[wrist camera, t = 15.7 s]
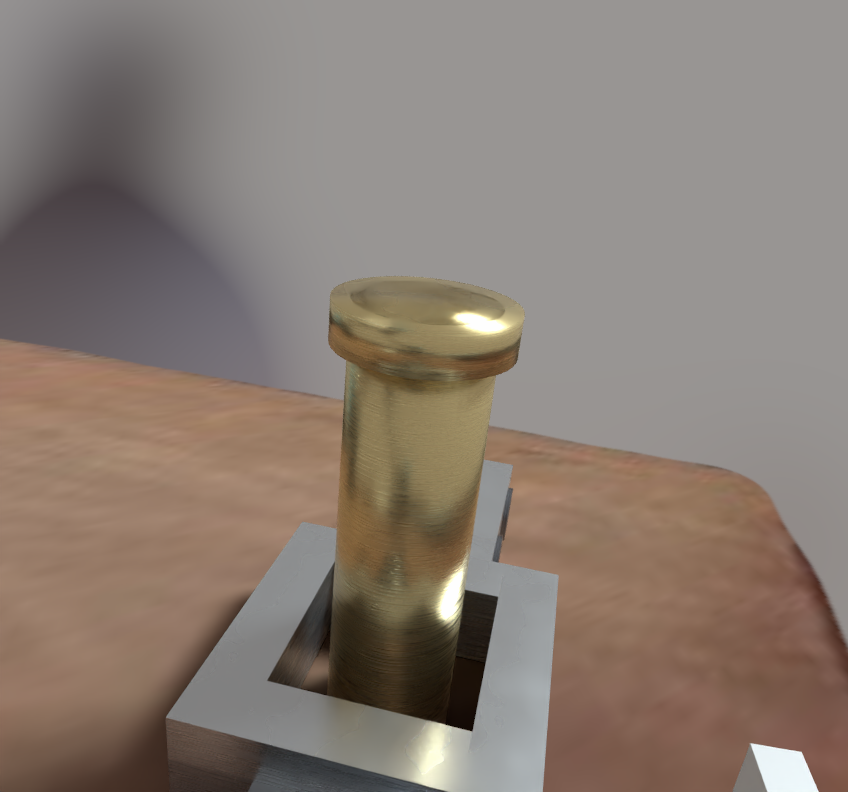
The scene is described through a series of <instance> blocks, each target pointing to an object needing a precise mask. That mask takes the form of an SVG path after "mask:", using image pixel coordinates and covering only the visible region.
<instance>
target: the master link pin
mask: <svg viewBox="0 0 848 792" xmlns="http://www.w3.org/2000/svg"><path fill="white" fill-rule="evenodd" d="M524 316H525V312H524V309H523V308H522V307H521V306H520V304H518V303H517V302H516V301H514V300H512V299H511V298H509V297H507V296H504V295H502V294H500V293H497V292H494V291H492V290H489V289H485V288H482V287H478V286H474V285H470V284H465V283H460V282H455V281H449V280H442V279H434V278H424V277H408V276H386V277H370V278H363V279H357V280H352V281H349V282H345V283H343V284H340V285H338V286H336V287H335V288H334V289H333V290H332V291H331V294H330V311H329V332H328V333H329V334H328V342H329V345H330V347H331V349H333V351H334V352H335V353H336V354H338V355H339V356H340V357H342V358H344V359H345V360H346V377H345V393H344V394H345V395H344V410H343V427H342V445H341V462H340V479H339V497H338V514H337V532H336V549H335V567H334V584H333V601H332V619H331V636H330V654H329V671H328V688H327V696H330V697H334V698H338V699H342V700H346V701H350V702H355V703H359V704H363V705H367V706H371V707H375V708H379V709H383V710H387V711H391V712H395V713H399V714H403V715H407V716H411V717H415V718H419V719H423V720H427V721H431V722H435V723H439V724H443V725H445V722H446V717H447V710H448V703H449V696H450V690H451V683H452V676H453V669H454V662H455V655H456V648H457V641H458V634H459V627H460V620H461V613H462V607H463V600H464V593H465V586H466V579H467V572H468V565H469V558H470V551H471V544H472V537H473V530H474V524H475V517H476V510H477V503H478V496H479V489H480V482H481V475H482V468H483V461H484V454H485V447H486V441H487V434H488V427H489V420H490V413H491V406H492V399H493V392H494V385H495V378H496V375H498V374H501V373H503V372H506V371H508V370H509V369H511V368H512V367H513V366H514V365H515V364H516V362H517V360H518V354H519V348H520V341H521V335H522V329H523V322H524Z"/></svg>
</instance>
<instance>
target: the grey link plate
mask: <svg viewBox="0 0 848 792" xmlns="http://www.w3.org/2000/svg"><path fill="white" fill-rule="evenodd" d="M512 469H513V465H509V464H504V463H499V462H493V461H488V460H484V461H483V468H482V475H481V482H480V489H479V496H478V503H477V510H476V517H475V524H474V530H473V537H472V544H471V551H470V558H469V565H468V572H467V579H466V586H465V593H464V600H463V607H462V613H461V620H460V627H459V634H458V641H457V648H456V655H455V656H458V657H462V658H467V659H471V660H475V661H480V662H484V663H486V664H485V670H484V675H483V680H482V685H481V690H480V696H479V701H478V706H477V711H476V716H475V722H474V727H473V732H472V731H468V730H464V729H460V728H456V727H451V726H447V725H443V724H439V723H435V722H431V721H427V720H423V719H419V718H415V717H411V716H407V715H403V714H399V713H395V712H391V711H387V710H383V709H379V708H375V707H371V706H367V705H363V704H359V703H355V702H350V701H346V700H342V699H338V698H334V697H330V696H326V695H322V694H318V693H314V692H310V691H306V690H302V689H300V687H301V685H302V683H303V681H304V679H305V677H306V675H307V673H308V671H309V669H310V667H311V665H312V663H313V661H314V659H315V658H316V656H317V654H318V652H319V650H320V648H321V646H322V644H323V642H324V640H325V638H326V636H327V634H328V632H329V630H330V628H331V619H332V601H333V584H334V567H335V549H336V532H337V529H335V528H330V527H325V526H320V525H316V524H311V523H306V522H302V523H301V525H300V526H299V527H298V529H297V530H296V532H295V533H294V535H293V536H292V537H291V539H290V540H289V542H288V543H287V545H286V546H285V547H284V549H283V550H282V552H281V553H280V555H279V556H278V558H277V559H276V560H275V562H274V563H273V565H272V566H271V568H270V569H269V570H268V572H267V573H266V575H265V576H264V578H263V579H262V580H261V582H260V583H259V585H258V586H257V588H256V589H255V590H254V592H253V593H252V595H251V596H250V598H249V599H248V600H247V602H246V603H245V605H244V606H243V608H242V609H241V610H240V612H239V613H238V615H237V616H236V618H235V619H234V620H233V622H232V623H231V625H230V626H229V628H228V629H227V630H226V632H225V633H224V635H223V636H222V638H221V639H220V640H219V642H218V643H217V645H216V646H215V648H214V649H213V650H212V652H211V653H210V655H209V656H208V658H207V659H206V660H205V662H204V663H203V665H202V666H201V668H200V669H199V670H198V672H197V673H196V675H195V676H194V678H193V679H192V680H191V682H190V683H189V685H188V686H187V688H186V689H185V690H184V692H183V693H182V695H181V696H180V698H179V699H178V700H177V702H176V703H175V705H174V706H173V708H172V709H171V710H170V712H169V713H168V715H167V716H166V733H167V750H168V767H169V785H170V792H543V778H544V765H545V751H546V737H547V724H548V710H549V697H550V683H551V670H552V656H553V643H554V629H555V616H556V602H557V588H558V575H556V574H551V573H546V572H541V571H536V570H532V569H527V568H522V567H517V566H512V565H508V564H503V563H499V559H500V553H501V547H502V541H504V537H505V532H506V527H507V522H508V516H509V510H510V505H511V498H512V492H513V488H509V487H510V481H511V475H512Z"/></svg>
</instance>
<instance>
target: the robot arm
mask: <svg viewBox="0 0 848 792" xmlns="http://www.w3.org/2000/svg"><path fill="white" fill-rule="evenodd" d="M733 792H818V790H817V787H816V785H815V783H814V780H813V778H812V776H811V773H810V771H809V769H808V766H807V764H806V762H805V759H804V757H803V755H802V752H798V751H792V750H786V749H780V748H774V747H768V746H762V745H757V744H751V743H750V746H749V748H748V751H747V754H746V756H745V759H744V762H743V765H742V767H741V770H740V773H739V775H738V778H737V781H736V783H735V786H734V789H733Z"/></svg>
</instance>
